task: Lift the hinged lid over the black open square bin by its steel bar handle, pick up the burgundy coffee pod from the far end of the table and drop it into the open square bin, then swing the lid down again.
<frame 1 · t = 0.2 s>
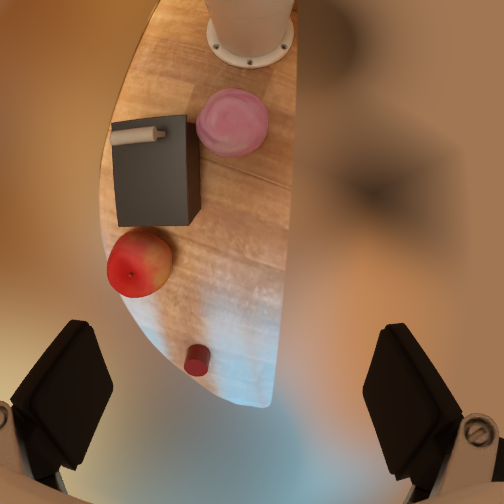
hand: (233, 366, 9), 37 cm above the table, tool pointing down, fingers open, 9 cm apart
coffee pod: (199, 353, 54), on the table
apple: (150, 249, 47), on the table
reservoir lid: (141, 174, 31), point 11 cm above the table, hinge at 0.0°
open square bin: (168, 168, 42), on the table
cupcake: (235, 126, 40), on the table
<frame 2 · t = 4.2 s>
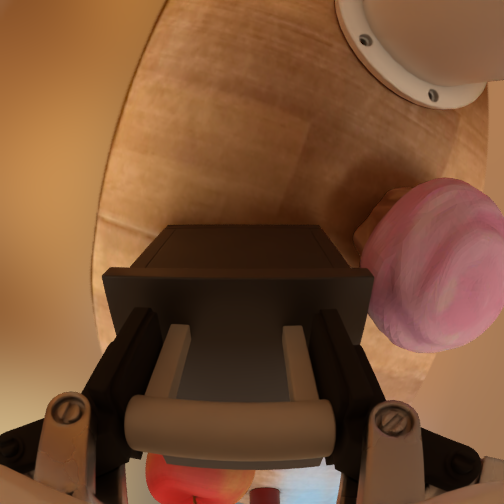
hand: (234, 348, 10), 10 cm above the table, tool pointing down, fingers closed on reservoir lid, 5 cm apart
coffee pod: (264, 492, 33), on the table
apple: (205, 417, 26), on the table
reservoir lid: (237, 447, 10), point 11 cm above the table, hinge at 0.0°, touching gripper
open square bin: (243, 311, 21), on the table
cupcake: (390, 229, 19), on the table
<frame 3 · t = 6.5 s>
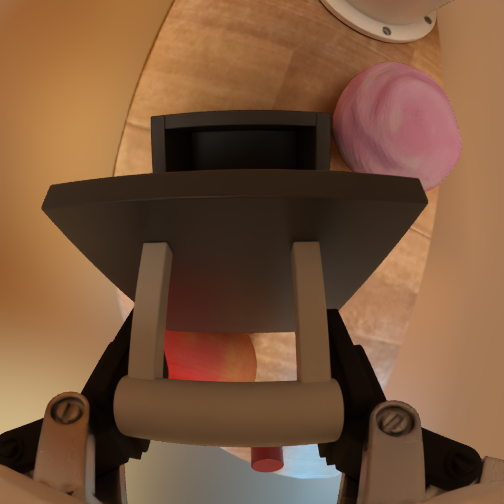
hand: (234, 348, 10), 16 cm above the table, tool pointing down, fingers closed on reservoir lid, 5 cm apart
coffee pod: (266, 441, 36), on the table
apple: (206, 329, 29), on the table
reservoir lid: (237, 352, 11), point 15 cm above the table, hinge at 41.8°, touching gripper
open square bin: (244, 198, 24), on the table
cupcake: (363, 131, 22), on the table
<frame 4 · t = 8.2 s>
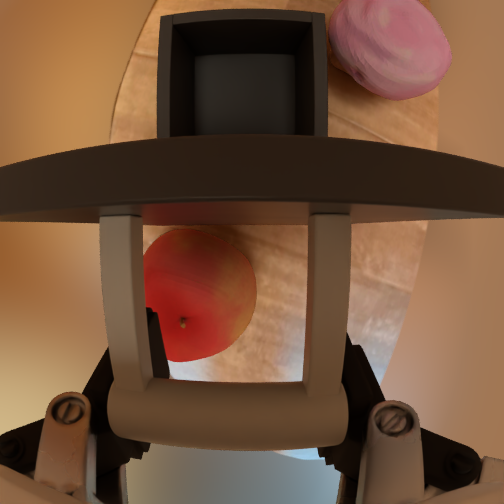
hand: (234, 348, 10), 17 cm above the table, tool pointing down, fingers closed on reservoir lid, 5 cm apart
apple: (202, 263, 27), on the table
reservoir lid: (235, 284, 10), point 16 cm above the table, hinge at 73.0°, touching gripper
open square bin: (244, 117, 22), on the table
cupcake: (360, 61, 20), on the table
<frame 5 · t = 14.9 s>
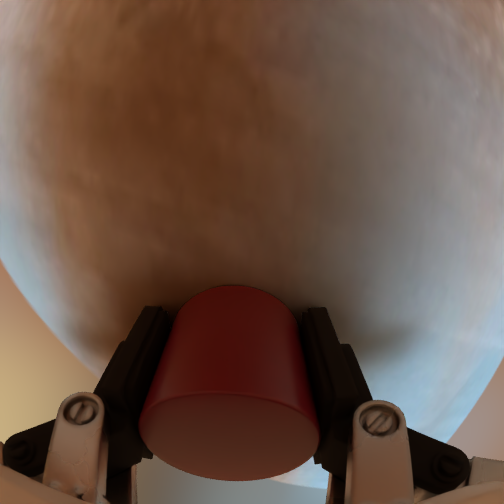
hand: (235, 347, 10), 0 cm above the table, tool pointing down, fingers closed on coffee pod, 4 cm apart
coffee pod: (235, 340, 10), on the table, touching gripper
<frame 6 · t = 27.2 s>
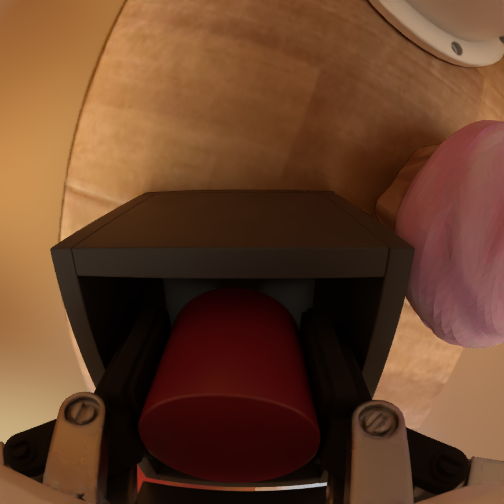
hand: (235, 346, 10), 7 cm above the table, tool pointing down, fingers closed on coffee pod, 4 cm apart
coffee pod: (235, 342, 10), point 6 cm above the table, touching gripper
apple: (195, 429, 21), on the table
open square bin: (239, 302, 17), on the table
cupcake: (416, 201, 15), on the table
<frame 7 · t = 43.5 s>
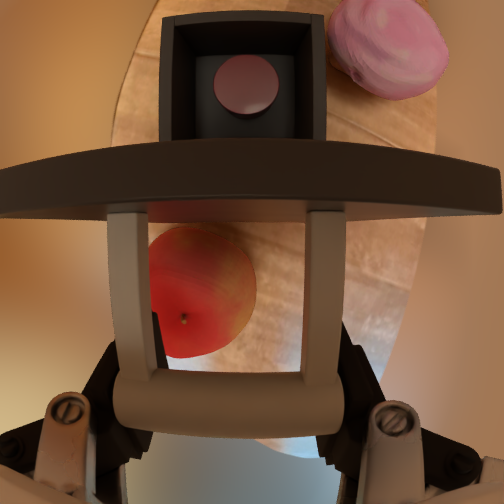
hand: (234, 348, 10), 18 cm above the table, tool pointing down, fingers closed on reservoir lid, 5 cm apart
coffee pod: (247, 93, 21), point 1 cm above the table, touching open square bin
apple: (202, 261, 28), on the table
reservoir lid: (235, 280, 10), point 16 cm above the table, hinge at 73.3°, touching gripper
open square bin: (244, 117, 23), on the table
cupcake: (358, 61, 21), on the table
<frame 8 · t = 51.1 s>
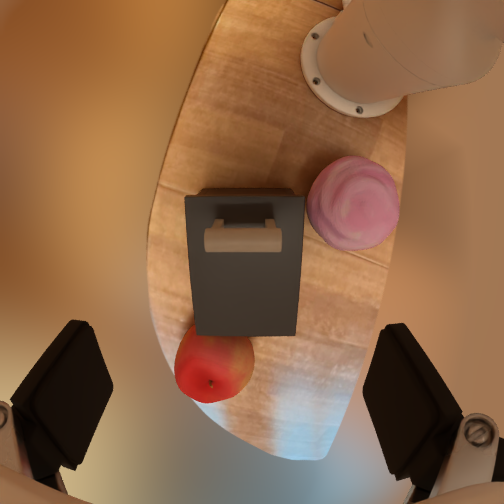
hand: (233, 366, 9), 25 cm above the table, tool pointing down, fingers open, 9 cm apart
apple: (217, 333, 39), on the table
reservoir lid: (244, 285, 23), point 11 cm above the table, hinge at -0.2°, touching open square bin
open square bin: (246, 242, 34), on the table
cupcake: (335, 192, 32), on the table
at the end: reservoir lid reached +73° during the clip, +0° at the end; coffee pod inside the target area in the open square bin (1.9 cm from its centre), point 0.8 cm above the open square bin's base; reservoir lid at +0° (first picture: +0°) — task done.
